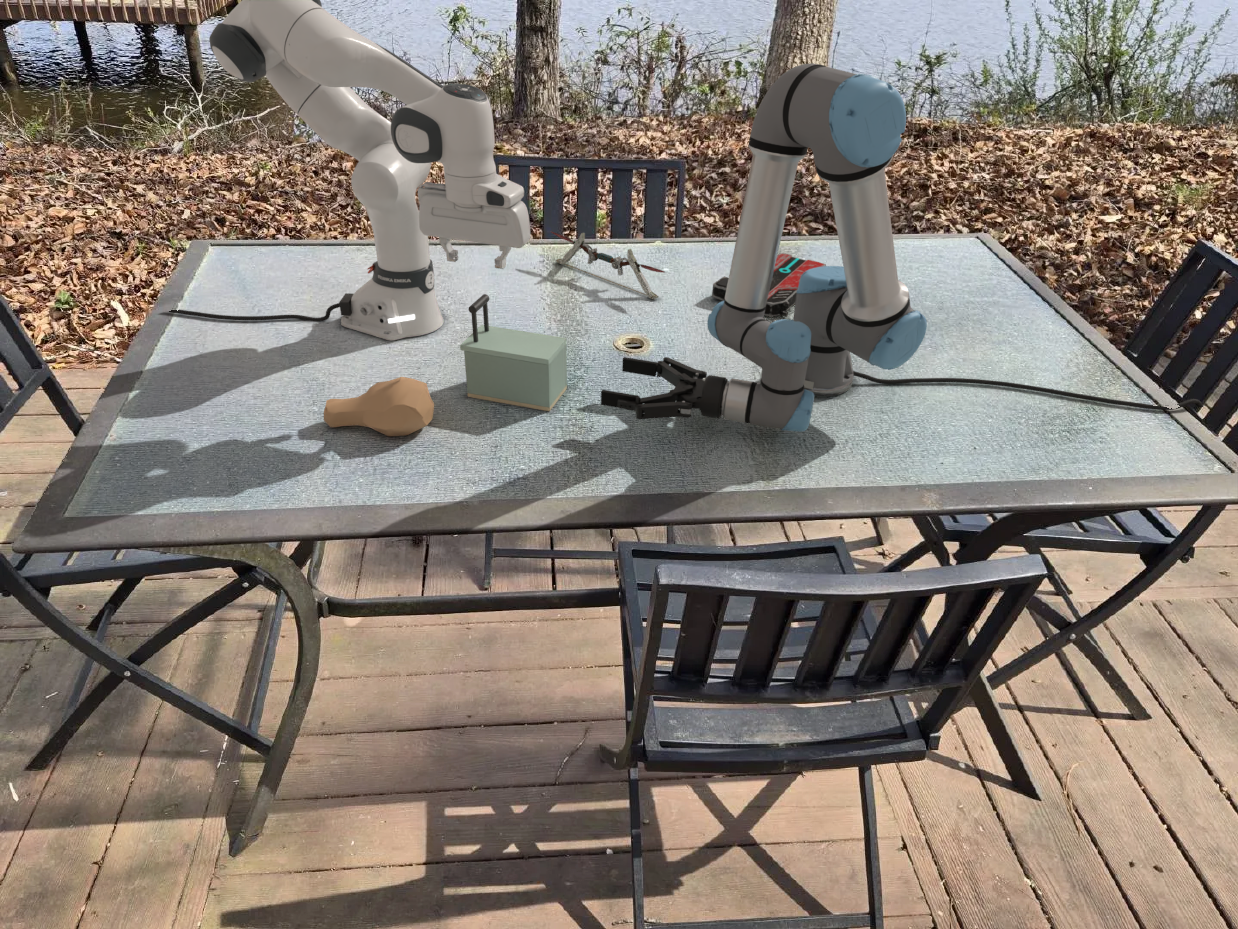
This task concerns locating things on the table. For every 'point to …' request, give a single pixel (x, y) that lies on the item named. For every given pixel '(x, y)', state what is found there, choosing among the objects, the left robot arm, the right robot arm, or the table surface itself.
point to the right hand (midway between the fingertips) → (612, 380)
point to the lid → (509, 340)
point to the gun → (777, 284)
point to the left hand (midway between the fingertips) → (476, 264)
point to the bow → (616, 262)
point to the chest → (516, 380)
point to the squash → (385, 408)
